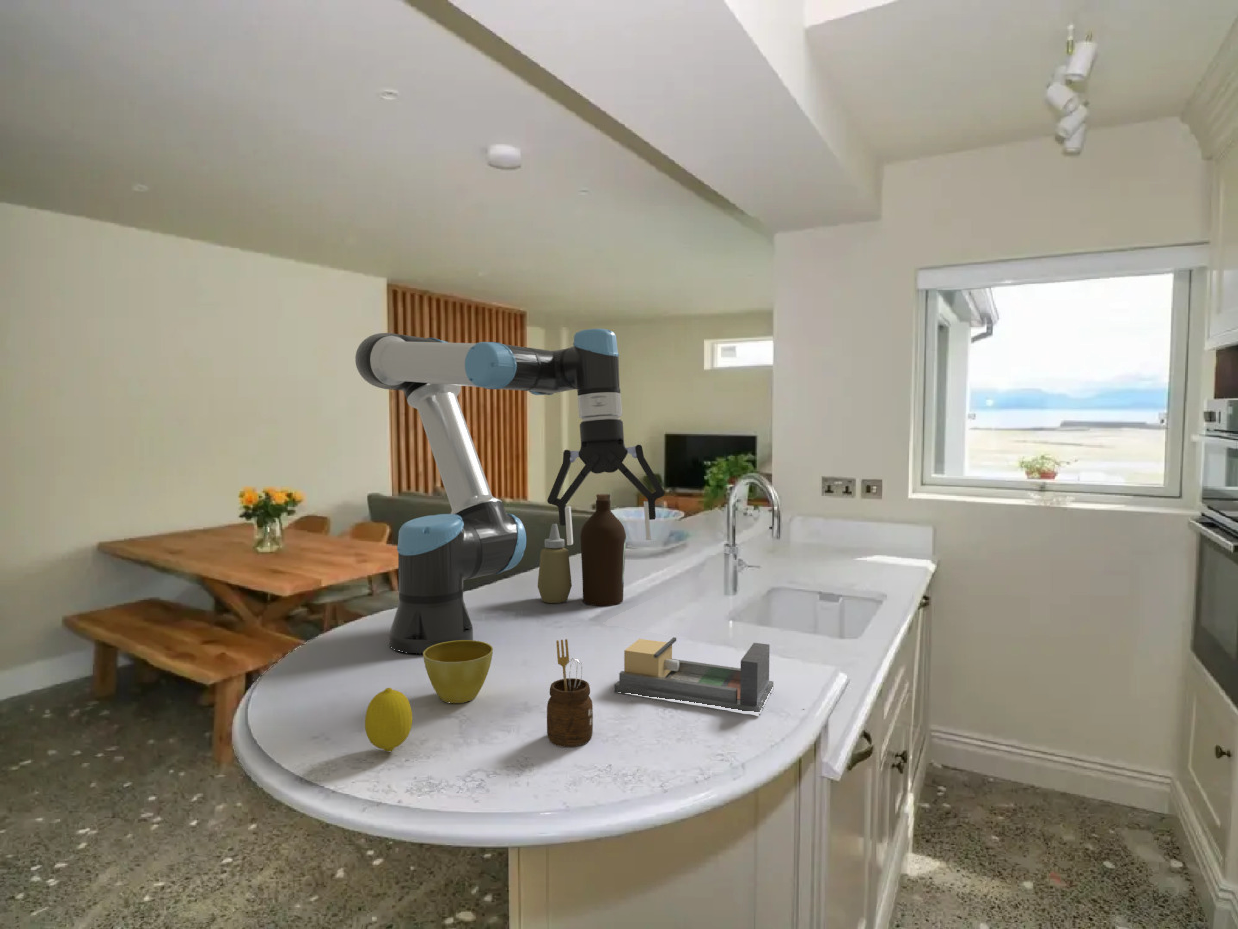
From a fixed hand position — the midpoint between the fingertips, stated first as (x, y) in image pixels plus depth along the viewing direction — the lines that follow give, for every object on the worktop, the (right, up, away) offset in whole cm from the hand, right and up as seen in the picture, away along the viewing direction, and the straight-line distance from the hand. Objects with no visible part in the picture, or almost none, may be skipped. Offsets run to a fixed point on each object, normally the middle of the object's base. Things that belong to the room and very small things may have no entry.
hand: (609, 542), depth 118 cm
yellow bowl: (-22, -22, -17) cm, 35 cm away
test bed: (+13, -21, -14) cm, 29 cm away
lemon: (-27, -22, -34) cm, 49 cm away
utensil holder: (-5, -22, -30) cm, 38 cm away
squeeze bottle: (-13, -19, +41) cm, 47 cm away
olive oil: (-2, -19, +41) cm, 45 cm away
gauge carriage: (+7, -20, -12) cm, 24 cm away
